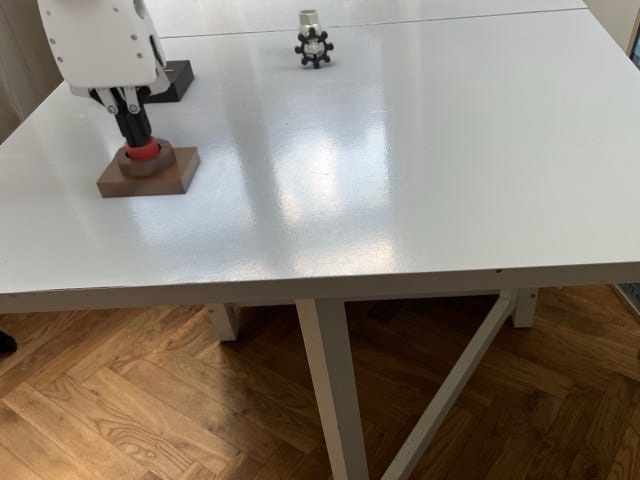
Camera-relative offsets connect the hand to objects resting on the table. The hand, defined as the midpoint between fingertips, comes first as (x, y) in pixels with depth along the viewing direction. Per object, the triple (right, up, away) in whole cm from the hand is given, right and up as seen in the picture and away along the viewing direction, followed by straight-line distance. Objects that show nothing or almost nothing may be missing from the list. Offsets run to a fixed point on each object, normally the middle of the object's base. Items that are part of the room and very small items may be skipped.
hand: (140, 141), depth 65 cm
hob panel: (-9, +15, +25) cm, 31 cm away
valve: (+16, +24, +34) cm, 45 cm away
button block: (0, -4, +3) cm, 5 cm away
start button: (0, -1, +1) cm, 2 cm away
